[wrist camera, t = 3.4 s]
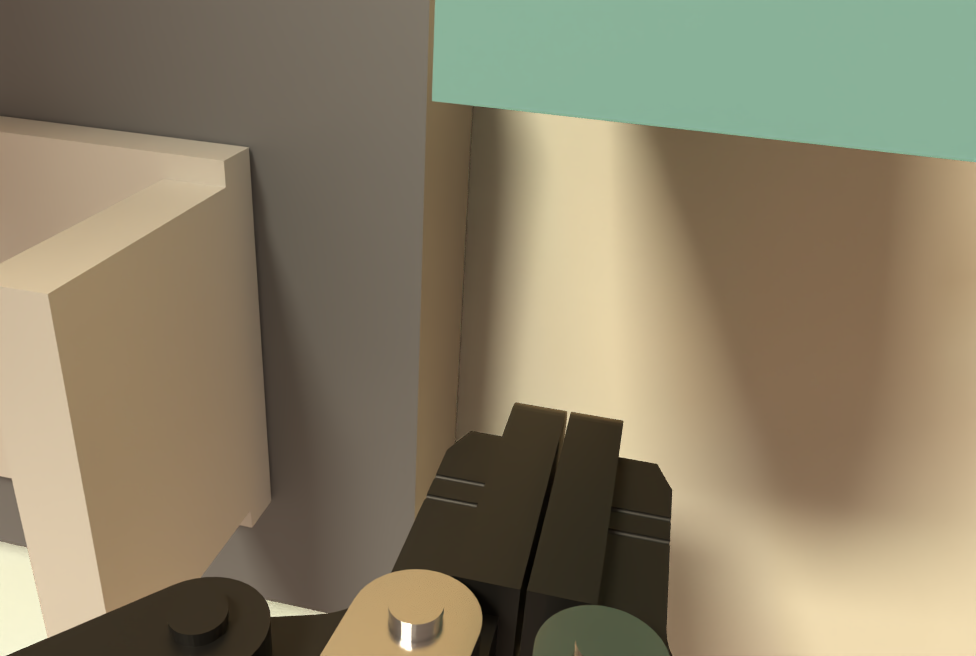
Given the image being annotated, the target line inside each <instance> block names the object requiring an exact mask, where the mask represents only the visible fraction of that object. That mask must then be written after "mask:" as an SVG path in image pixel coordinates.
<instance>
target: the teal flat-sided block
mask: <svg viewBox="0 0 976 656" xmlns="http://www.w3.org/2000/svg"><path fill="white" fill-rule="evenodd" d="M432 101H436V102H445V103H453V104H462V105H471V106H480V107H489V108H498V109H507V110H516V111H525V112H534V113H542V114H551V115H560V116H569V117H578V118H587V119H596V120H605V121H614V122H623V123H631V124H640V125H649V126H658V127H667V128H676V129H685V130H694V131H703V132H712V133H720V134H729V135H738V136H747V137H756V138H765V139H774V140H783V141H792V142H801V143H810V144H818V145H827V146H836V147H845V148H854V149H863V150H872V151H881V152H890V153H899V154H907V155H916V156H925V157H934V158H943V159H952V160H961V161H970V162H976V0H435V17H434V48H433V80H432Z"/></svg>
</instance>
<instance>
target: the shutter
mask: <svg viewBox="0 0 976 656" xmlns="http://www.w3.org/2000/svg"><path fill="white" fill-rule="evenodd" d="M0 476H2V477H7V478H12V482H13V487H14V491H15V496H16V500H17V504H18V509H19V513H20V518H21V522H22V526H23V531H24V535H25V540H26V544H27V548H28V553H29V557H30V562H31V566H32V570H33V575H34V579H35V584H36V588H37V592H38V597H39V601H40V606H41V610H42V614H43V619H44V623H45V628H46V632H47V636H48V638H49V637H52V636H54V635H56V634H59V633H61V632H63V631H66V630H68V629H70V628H73V627H75V626H77V625H80V624H82V623H84V622H87V621H89V620H92V619H94V618H96V617H99V616H101V615H103V614H106V613H108V612H110V611H113V610H115V609H117V608H120V607H122V606H124V605H127V604H129V603H131V602H134V601H136V600H139V599H141V598H143V597H146V596H148V595H150V594H153V593H155V592H157V591H160V590H162V589H164V588H167V587H169V586H171V585H174V584H177V583H180V582H183V581H186V580H190V579H195V578H201V576H202V575H203V574H204V572H205V571H206V569H207V568H208V567H209V565H210V564H211V563H212V561H213V560H214V559H215V557H216V556H217V555H218V553H219V552H220V551H221V549H222V548H223V547H224V545H225V544H226V543H227V541H228V540H229V539H230V537H231V536H232V535H233V533H234V532H235V531H236V529H237V528H238V527H239V525H241V526H246V527H251V528H252V527H253V526H254V524H255V523H256V522H257V520H258V519H259V517H260V516H261V515H262V513H263V512H264V511H265V509H266V508H267V506H268V505H269V504H270V502H271V488H270V472H269V457H268V441H267V425H266V409H265V394H264V378H263V362H262V346H261V330H260V315H259V299H258V283H257V267H256V252H255V236H254V220H253V204H252V188H251V173H250V157H249V147H243V146H235V145H227V144H219V143H211V142H203V141H195V140H187V139H179V138H172V137H164V136H156V135H148V134H140V133H132V132H124V131H116V130H108V129H100V128H92V127H84V126H76V125H69V124H61V123H53V122H45V121H37V120H29V119H21V118H13V117H5V116H0Z"/></svg>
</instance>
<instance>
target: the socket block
mask: <svg viewBox="0 0 976 656" xmlns="http://www.w3.org/2000/svg"><path fill="white" fill-rule="evenodd" d="M434 17H435V0H0V116H5V117H13V118H21V119H29V120H37V121H45V122H53V123H61V124H69V125H76V126H84V127H92V128H100V129H108V130H116V131H124V132H132V133H140V134H148V135H156V136H164V137H172V138H179V139H187V140H195V141H203V142H211V143H219V144H227V145H235V146H243V147H249V157H250V173H251V188H252V204H253V220H254V236H255V252H256V267H257V283H258V299H259V315H260V330H261V346H262V362H263V378H264V394H265V409H266V425H267V441H268V457H269V472H270V488H271V502H270V504H269V505H268V506H267V508H266V509H265V511H264V512H263V513H262V515H261V516H260V517H259V519H258V520H257V522H256V523H255V524H254V526H253V527H252V528H251V527H246V526H241V525H239V527H238V528H237V529H236V531H235V532H234V533H233V535H232V536H231V537H230V539H229V540H228V541H227V543H226V544H225V545H224V547H223V548H222V549H221V551H220V552H219V553H218V555H217V556H216V557H215V559H214V560H213V561H212V563H211V564H210V565H209V567H208V568H207V569H206V571H205V572H204V574H203V575H202V576H201V578H202V577H224V578H231V579H235V580H239V581H241V582H244V583H246V584H248V585H250V586H252V587H253V588H255V589H256V590H257V591H258V592H259V593H260V594H261V595H262V596H263V597H264V599H266V600H271V601H275V602H280V603H284V604H289V605H294V606H298V607H303V608H307V609H312V610H316V611H321V612H326V613H332V612H337V611H341V610H344V609H347V608H349V607H350V605H351V603H352V602H353V600H354V599H355V597H356V596H357V595H358V593H359V592H360V591H361V590H362V589H363V588H364V587H365V586H366V585H367V584H369V583H370V582H372V581H374V580H375V579H377V578H379V577H381V576H383V575H386V574H389V573H391V571H392V569H393V567H394V565H395V563H396V560H397V558H398V556H399V554H400V552H401V550H402V547H403V545H404V543H405V541H406V539H407V536H408V534H409V532H410V530H411V528H412V525H413V523H414V521H415V519H416V517H417V514H418V512H419V510H420V508H421V506H422V503H423V501H424V499H426V497H427V492H428V490H429V488H430V486H431V484H432V481H433V479H435V477H436V473H437V471H438V468H439V466H440V464H441V462H442V460H443V457H444V455H445V453H446V451H447V449H448V448H450V447H451V446H452V445H454V444H455V434H456V415H457V396H458V377H459V358H460V339H461V320H462V301H463V282H464V263H465V244H466V226H467V207H468V188H469V169H470V150H471V131H472V112H473V106H471V105H462V104H453V103H445V102H436V101H432V80H433V48H434ZM0 541H1V542H6V543H11V544H15V545H20V546H24V547H27V544H26V540H25V535H24V531H23V526H22V522H21V518H20V513H19V509H18V504H17V500H16V496H15V491H14V487H13V482H12V478H7V477H2V476H0Z"/></svg>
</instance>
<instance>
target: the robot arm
mask: <svg viewBox="0 0 976 656" xmlns="http://www.w3.org/2000/svg"><path fill="white" fill-rule="evenodd" d="M566 421H567V411H562V410H556V409H550V408H544V407H539V406H533V405H527V404H521V403H515V404H514V406H513V408H512V411H511V414H510V416H509V419H508V422H507V425H506V427H505V430H504V433H503V436H502V437H501V436H495V435H490V434H484V433H478V432H473V431H471V432H470V433H468V434H467V435H466V436H464V437H463V438H462V439H460V440H459V441H458V442H456V443H455V444H454V445H452V446H451V447H450V448H448V449H447V451H446V453H445V455H444V457H443V460H442V462H441V464H440V466H439V468H438V471H437V473H436V477H435V479H433V481H432V484H431V486H430V488H429V490H428V492H427V497H426V499H424V501H423V503H422V506H421V508H420V510H419V512H418V514H417V517H416V519H415V521H414V523H413V525H412V528H411V530H410V532H409V534H408V536H407V539H406V541H405V543H404V545H403V547H402V550H401V552H400V554H399V556H398V558H397V560H396V563H395V565H394V567H393V569H392V571H391V573H389V574H386V575H383V576H381V577H379V578H377V579H375V580H374V581H372V582H370V583H369V584H367V585H366V586H365V587H364V588H363V589H362V590H361V591H360V592H359V593H358V595H357V596H356V597H355V599H354V600H353V602H352V603H351V605H350V607H349V608H347V609H344V610H341V611H337V612H332V613H328V614H318V615H303V616H283V617H270V610H269V607H268V604H267V602H266V600H265V599H264V597H263V596H262V595H261V594H260V593H259V592H258V591H257V590H256V589H255V588H253V587H252V586H250V585H248V584H246V583H244V582H241V581H239V580H235V579H231V578H224V577H202V578H195V579H190V580H186V581H183V582H180V583H177V584H174V585H171V586H169V587H167V588H164V589H162V590H160V591H157V592H155V593H153V594H150V595H148V596H146V597H143V598H141V599H139V600H136V601H134V602H131V603H129V604H127V605H124V606H122V607H120V608H117V609H115V610H113V611H110V612H108V613H106V614H103V615H101V616H99V617H96V618H94V619H92V620H89V621H87V622H84V623H82V624H80V625H77V626H75V627H73V628H70V629H68V630H66V631H63V632H61V633H59V634H56V635H54V636H52V637H49V638H47V639H44V640H42V641H40V642H37V643H35V644H33V645H30V646H28V647H26V648H23V649H21V650H19V651H16V652H14V653H12V654H9V655H7V656H672V654H671V652H670V649H669V646H668V642H667V634H666V624H667V600H668V576H669V552H670V546H669V543H670V529H671V523H670V520H671V505H672V489H671V487H670V486H669V484H668V482H667V480H666V479H665V477H664V475H663V473H662V472H661V470H660V468H659V466H658V465H657V464H654V463H648V462H643V461H637V460H632V459H626V458H620V457H619V449H620V442H621V435H622V428H623V421H622V420H616V419H610V418H604V417H598V416H592V415H587V414H581V413H575V412H571V414H570V418H569V422H568V426H567V430H566ZM565 430H566V434H565ZM564 437H565V438H564Z"/></svg>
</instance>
